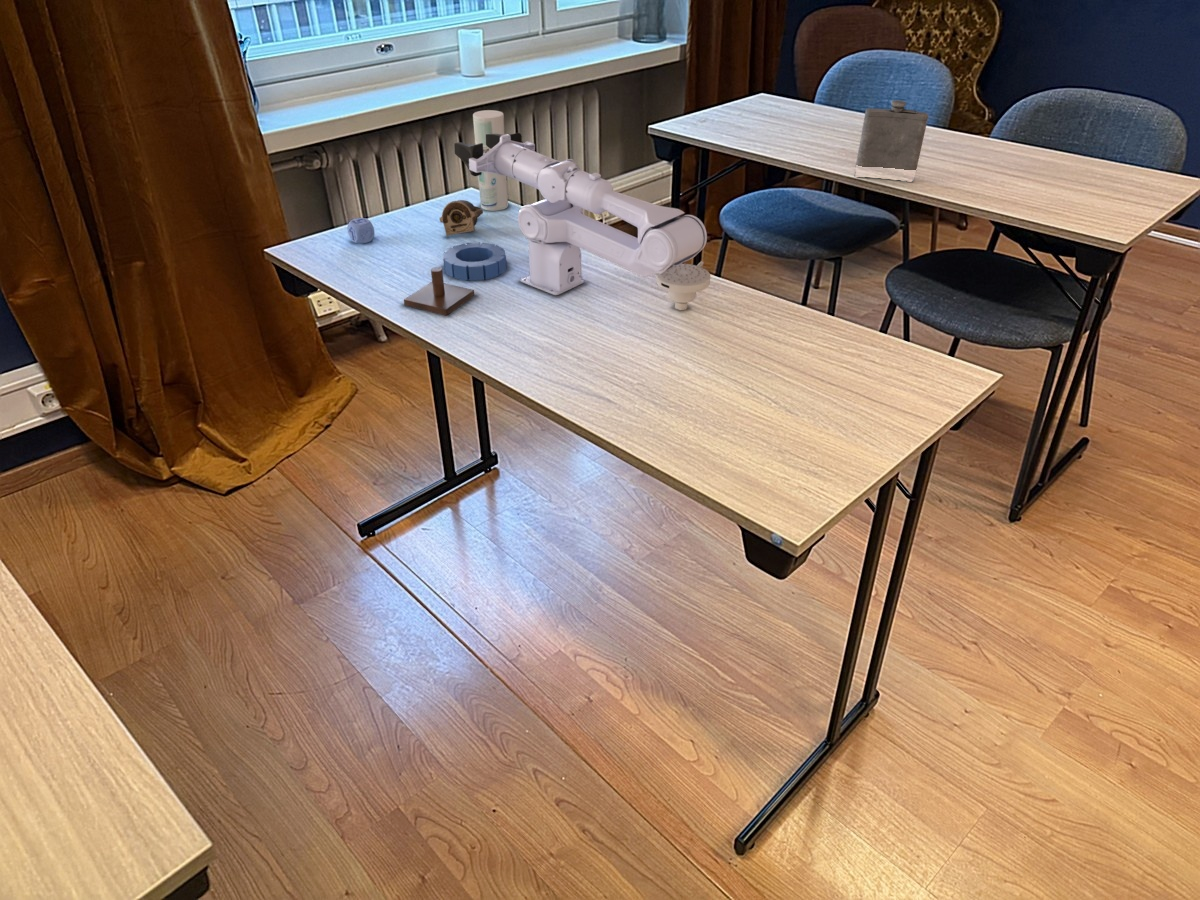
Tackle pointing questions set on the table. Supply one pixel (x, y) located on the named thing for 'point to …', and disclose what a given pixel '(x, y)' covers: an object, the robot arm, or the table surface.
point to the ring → (486, 268)
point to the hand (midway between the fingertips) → (471, 143)
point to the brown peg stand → (439, 295)
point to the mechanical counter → (460, 217)
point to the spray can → (486, 123)
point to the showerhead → (684, 283)
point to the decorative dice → (361, 230)
